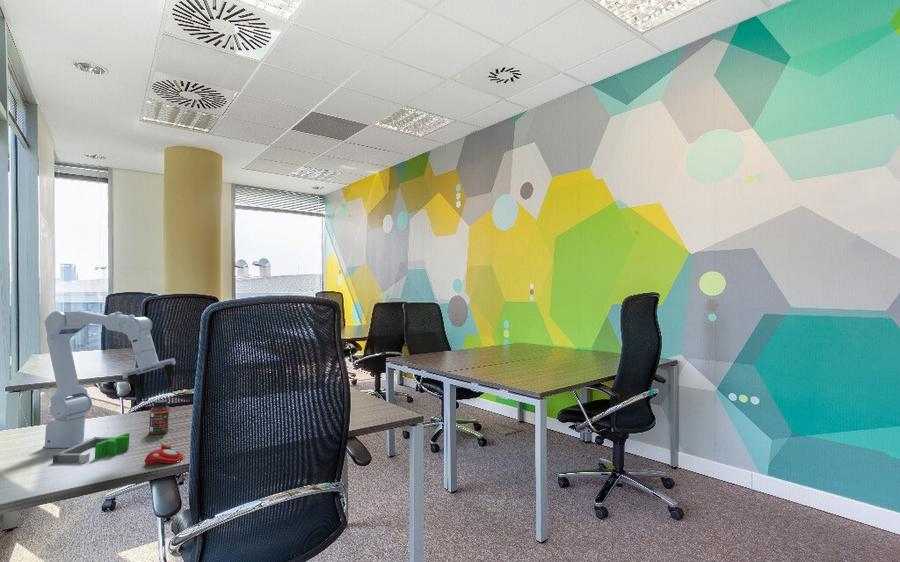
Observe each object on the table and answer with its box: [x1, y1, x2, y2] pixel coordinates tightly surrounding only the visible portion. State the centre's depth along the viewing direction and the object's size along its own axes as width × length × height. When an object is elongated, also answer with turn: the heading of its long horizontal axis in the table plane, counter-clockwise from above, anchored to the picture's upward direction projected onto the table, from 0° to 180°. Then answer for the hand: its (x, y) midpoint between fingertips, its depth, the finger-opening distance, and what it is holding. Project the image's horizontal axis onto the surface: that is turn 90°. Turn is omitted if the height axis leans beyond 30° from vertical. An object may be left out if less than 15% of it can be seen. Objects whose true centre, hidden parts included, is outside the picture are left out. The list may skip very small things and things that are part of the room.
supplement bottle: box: [148, 399, 171, 435], centre depth 161 cm, size 6×6×11 cm
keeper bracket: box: [52, 436, 115, 464], centre depth 139 cm, size 9×17×2 cm, turn 4°
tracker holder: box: [144, 443, 184, 467], centre depth 134 cm, size 12×4×10 cm
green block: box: [94, 432, 130, 460], centre depth 140 cm, size 11×4×5 cm, turn 173°
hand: (156, 392), depth 144 cm, fingers open, 7 cm apart
